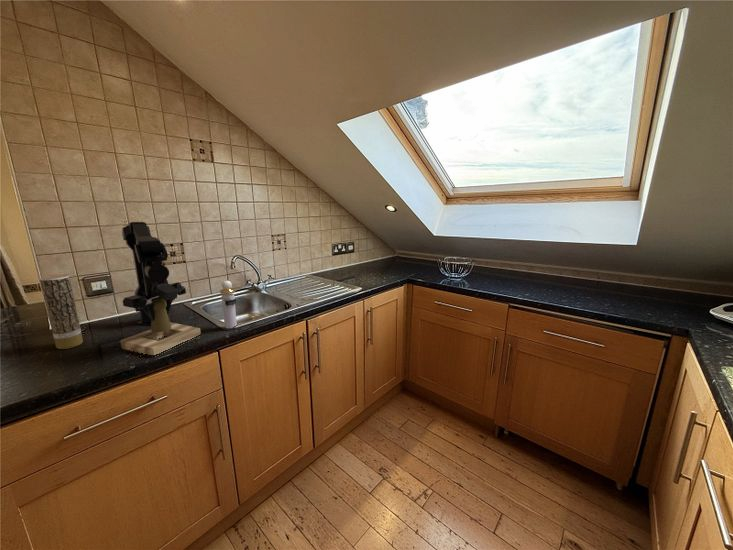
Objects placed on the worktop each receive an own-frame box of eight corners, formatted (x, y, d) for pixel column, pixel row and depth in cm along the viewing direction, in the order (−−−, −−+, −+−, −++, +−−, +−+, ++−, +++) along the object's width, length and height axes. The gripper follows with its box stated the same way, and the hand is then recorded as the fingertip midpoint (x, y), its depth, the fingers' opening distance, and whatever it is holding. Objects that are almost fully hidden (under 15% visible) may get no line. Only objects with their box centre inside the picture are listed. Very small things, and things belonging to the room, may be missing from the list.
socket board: (121, 348, 102) (120, 340, 102) (170, 329, 119) (169, 322, 118) (154, 356, 97) (152, 348, 97) (200, 335, 114) (200, 328, 113)
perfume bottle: (220, 327, 121) (215, 280, 117) (234, 324, 125) (230, 278, 121) (227, 331, 117) (222, 283, 113) (241, 327, 122) (237, 280, 117)
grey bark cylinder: (88, 341, 108) (74, 274, 102) (71, 350, 101) (55, 279, 95) (69, 341, 107) (54, 274, 102) (50, 350, 101) (33, 278, 95)
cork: (175, 326, 109) (171, 298, 107) (160, 333, 103) (155, 303, 101) (162, 324, 111) (158, 296, 108) (147, 331, 105) (142, 301, 103)
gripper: (141, 285, 91) (149, 332, 95) (194, 273, 109) (199, 313, 112) (117, 281, 95) (125, 326, 99) (172, 270, 112) (177, 309, 116)
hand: (159, 318), depth 106 cm, fingers closed on cork, 4 cm apart
